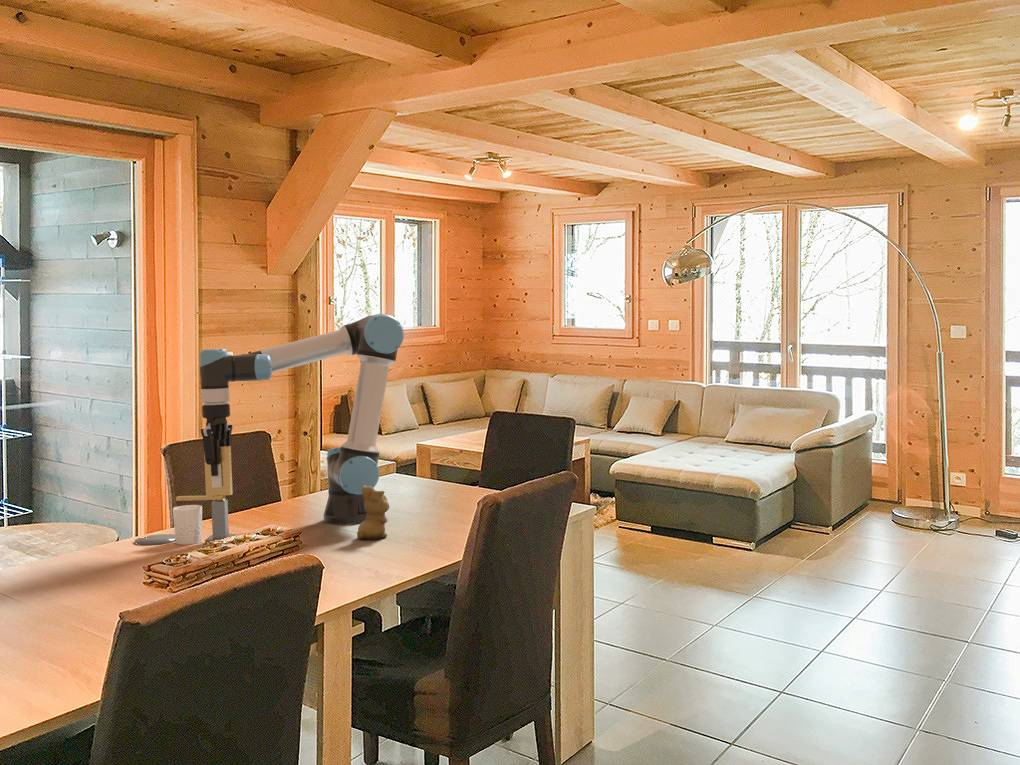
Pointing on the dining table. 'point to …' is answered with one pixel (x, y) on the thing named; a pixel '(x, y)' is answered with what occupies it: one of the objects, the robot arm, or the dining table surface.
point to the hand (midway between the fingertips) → (219, 486)
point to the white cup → (188, 524)
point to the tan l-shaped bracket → (211, 492)
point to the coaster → (156, 539)
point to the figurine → (373, 515)
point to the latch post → (219, 521)
